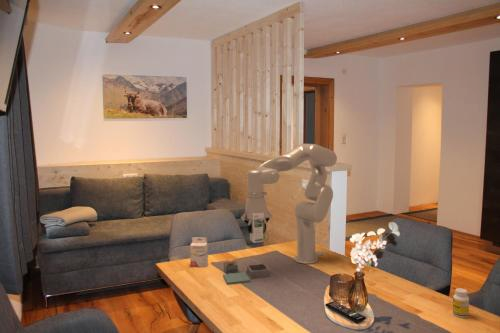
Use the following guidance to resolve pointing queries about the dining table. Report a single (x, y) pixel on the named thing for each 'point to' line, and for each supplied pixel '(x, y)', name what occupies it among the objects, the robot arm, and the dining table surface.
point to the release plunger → (230, 260)
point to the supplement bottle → (461, 303)
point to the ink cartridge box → (199, 252)
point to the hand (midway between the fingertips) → (257, 231)
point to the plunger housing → (230, 268)
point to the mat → (236, 278)
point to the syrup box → (257, 228)
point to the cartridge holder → (258, 271)
